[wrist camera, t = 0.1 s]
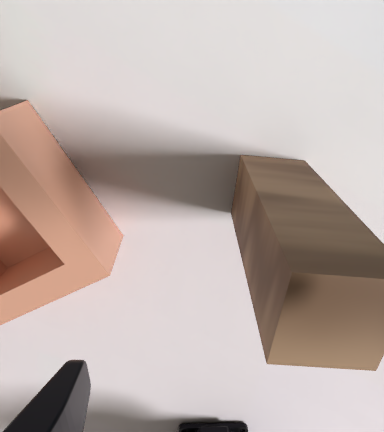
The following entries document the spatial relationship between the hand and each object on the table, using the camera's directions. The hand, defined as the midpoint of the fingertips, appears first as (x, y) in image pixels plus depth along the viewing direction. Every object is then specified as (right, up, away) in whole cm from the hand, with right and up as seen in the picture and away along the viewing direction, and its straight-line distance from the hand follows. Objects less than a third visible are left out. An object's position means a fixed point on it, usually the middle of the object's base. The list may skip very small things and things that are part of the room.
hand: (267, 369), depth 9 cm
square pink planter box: (-13, +4, +14) cm, 20 cm away
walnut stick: (+3, +6, +14) cm, 15 cm away
